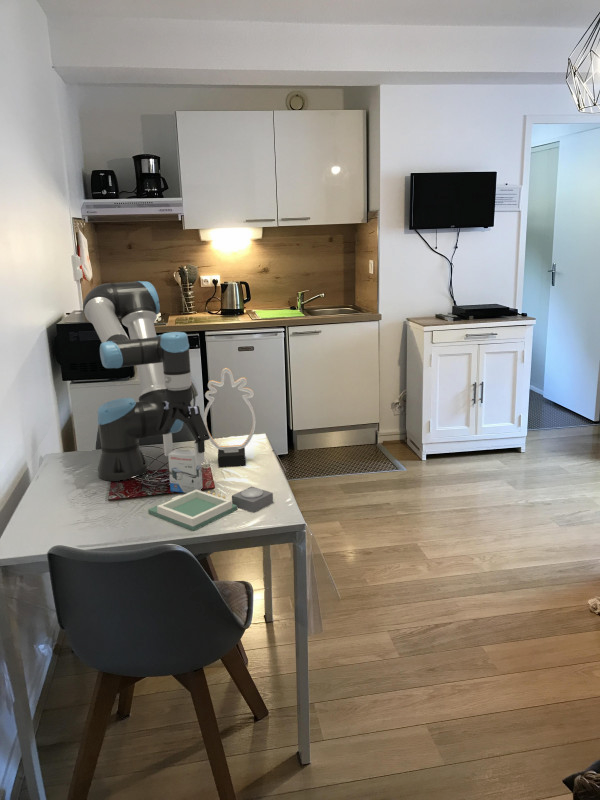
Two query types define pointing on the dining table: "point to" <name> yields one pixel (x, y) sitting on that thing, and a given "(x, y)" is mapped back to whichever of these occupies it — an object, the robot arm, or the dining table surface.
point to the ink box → (184, 471)
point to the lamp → (234, 453)
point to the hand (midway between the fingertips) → (184, 458)
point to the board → (193, 509)
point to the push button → (252, 499)
